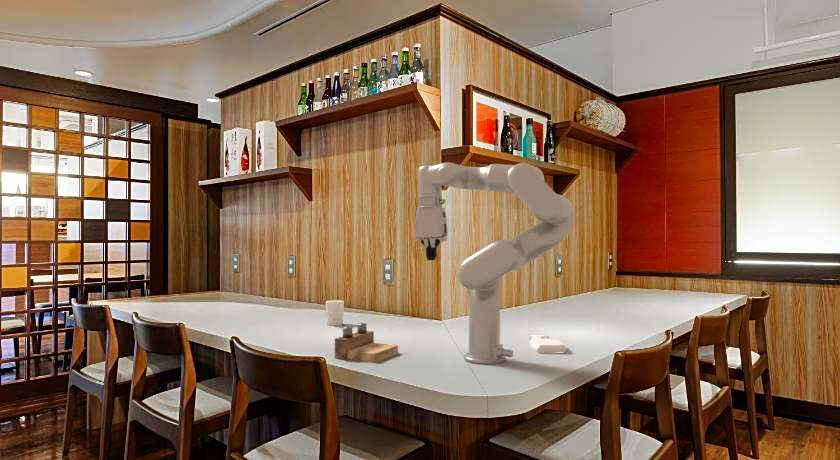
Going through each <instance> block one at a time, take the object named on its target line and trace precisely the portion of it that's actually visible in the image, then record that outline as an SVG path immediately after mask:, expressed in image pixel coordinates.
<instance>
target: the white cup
mask: <svg viewBox="0 0 840 460" xmlns="http://www.w3.org/2000/svg"><path fill="white" fill-rule="evenodd" d="M344 312H345V301H344V300H341V299H335V300H334V299H331V300H330V299H329V300H326V301H325V315H326V325H327V326H332V327H334V326H335V327H336V326H342V325H343V323H344V314H345V313H344Z"/></svg>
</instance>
